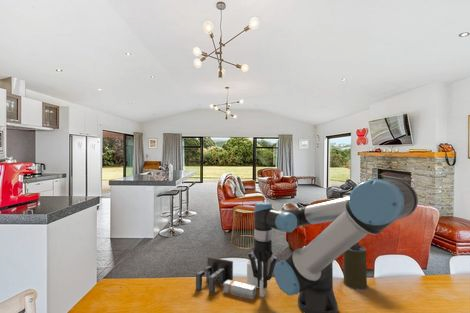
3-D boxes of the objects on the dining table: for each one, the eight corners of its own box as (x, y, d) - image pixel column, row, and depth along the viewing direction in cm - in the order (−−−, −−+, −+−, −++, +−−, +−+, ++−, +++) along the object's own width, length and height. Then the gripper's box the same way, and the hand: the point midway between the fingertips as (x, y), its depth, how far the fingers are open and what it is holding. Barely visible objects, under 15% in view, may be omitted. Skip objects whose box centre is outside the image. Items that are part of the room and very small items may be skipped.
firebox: (232, 282, 117) (232, 261, 118) (218, 295, 105) (218, 271, 105) (208, 276, 123) (208, 256, 124) (192, 288, 111) (192, 266, 111)
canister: (362, 292, 108) (361, 247, 110) (339, 283, 116) (338, 241, 117) (371, 284, 116) (369, 242, 117) (348, 277, 123) (348, 237, 125)
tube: (255, 295, 105) (256, 285, 105) (252, 299, 101) (252, 290, 102) (227, 288, 111) (227, 279, 112) (223, 292, 108) (223, 283, 108)
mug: (245, 277, 123) (245, 256, 123) (261, 277, 123) (261, 256, 124) (247, 288, 111) (247, 265, 112) (265, 288, 111) (265, 265, 112)
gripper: (280, 238, 104) (279, 294, 103) (252, 234, 109) (251, 287, 108) (275, 243, 97) (274, 303, 96) (245, 238, 103) (244, 295, 102)
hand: (262, 295), depth 102 cm, fingers closed
